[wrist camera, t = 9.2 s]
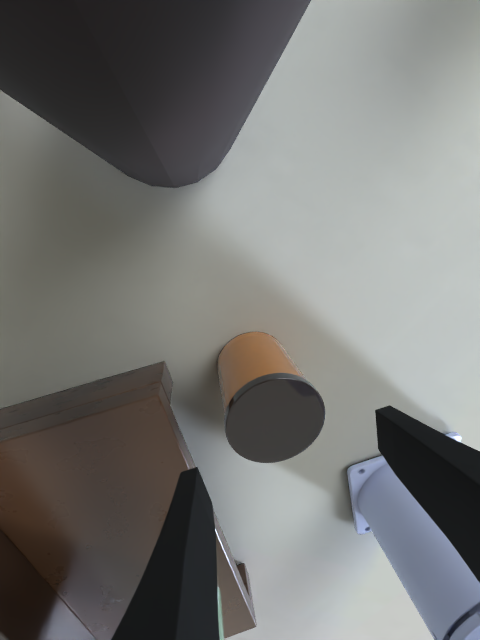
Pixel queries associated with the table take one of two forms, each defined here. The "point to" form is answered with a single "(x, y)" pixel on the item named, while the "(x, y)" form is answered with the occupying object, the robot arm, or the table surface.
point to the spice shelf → (93, 507)
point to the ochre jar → (266, 400)
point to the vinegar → (145, 75)
